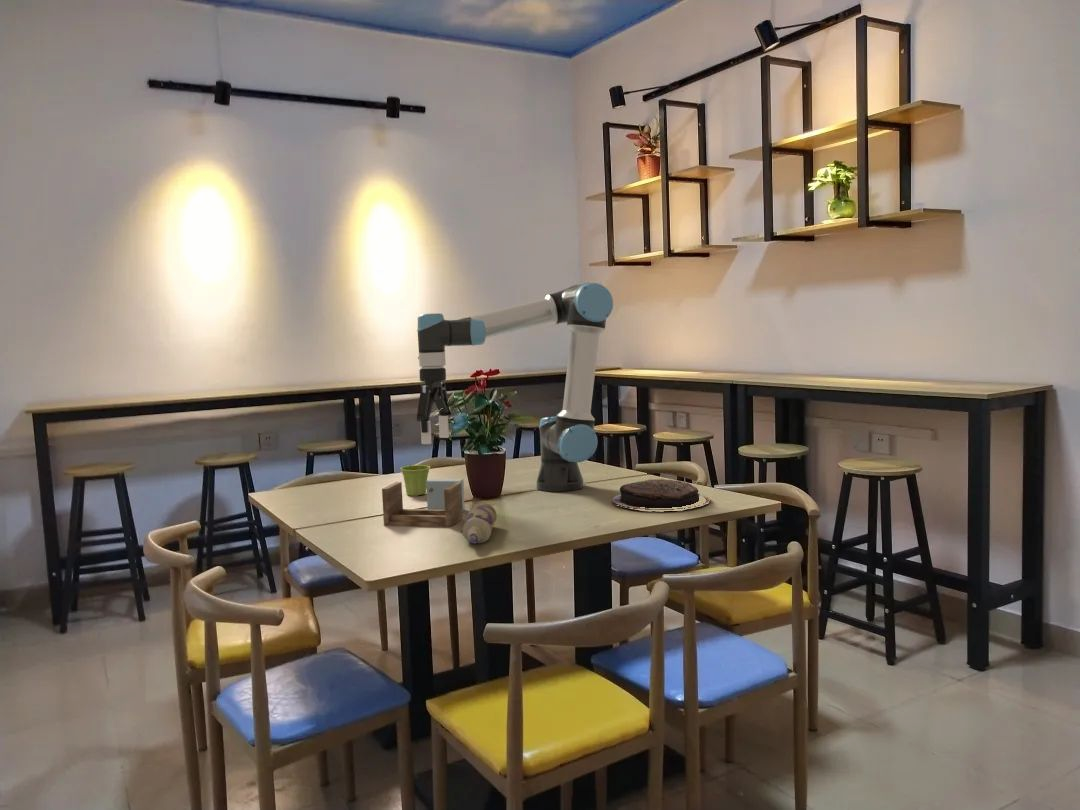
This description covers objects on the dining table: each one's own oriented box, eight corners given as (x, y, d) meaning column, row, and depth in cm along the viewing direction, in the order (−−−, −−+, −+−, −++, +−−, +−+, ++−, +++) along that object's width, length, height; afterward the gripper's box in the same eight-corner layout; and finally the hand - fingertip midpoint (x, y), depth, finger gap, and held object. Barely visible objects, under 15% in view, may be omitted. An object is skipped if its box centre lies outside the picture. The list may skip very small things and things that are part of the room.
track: (463, 518, 231) (461, 482, 230) (451, 526, 221) (449, 489, 220) (398, 517, 235) (396, 481, 234) (383, 525, 226) (381, 488, 225)
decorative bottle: (468, 527, 221) (467, 502, 220) (497, 527, 220) (496, 502, 220) (455, 553, 195) (454, 525, 194) (487, 553, 195) (487, 524, 194)
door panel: (464, 509, 242) (463, 479, 241) (460, 513, 238) (458, 481, 237) (432, 509, 244) (430, 478, 244) (426, 512, 240) (425, 481, 239)
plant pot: (434, 491, 272) (433, 464, 271) (427, 497, 263) (426, 469, 262) (406, 491, 273) (404, 465, 272) (398, 497, 264) (396, 470, 263)
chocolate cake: (730, 502, 240) (730, 480, 240) (663, 519, 223) (663, 494, 222) (658, 490, 262) (658, 469, 262) (592, 504, 245) (591, 482, 244)
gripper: (436, 365, 255) (439, 435, 256) (402, 370, 231) (405, 446, 232) (459, 365, 253) (462, 435, 255) (427, 369, 229) (431, 446, 231)
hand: (435, 440), depth 243 cm, fingers open, 13 cm apart
